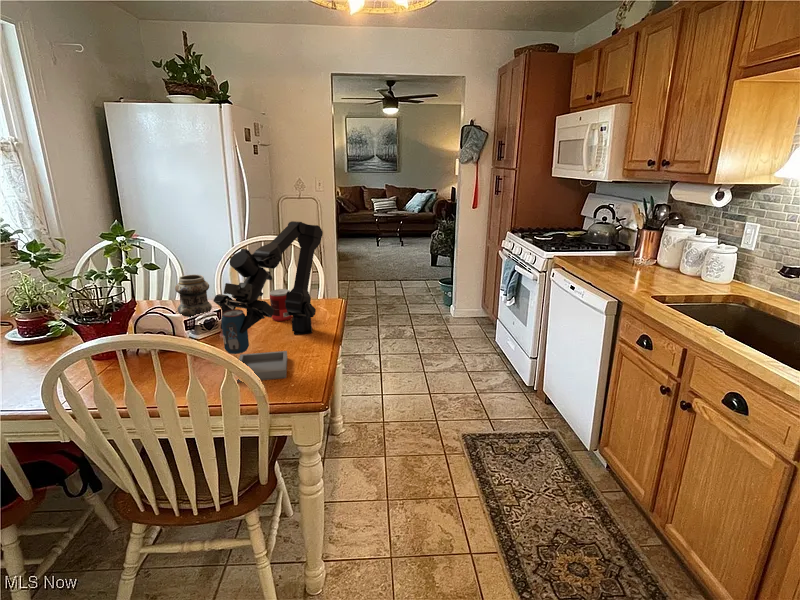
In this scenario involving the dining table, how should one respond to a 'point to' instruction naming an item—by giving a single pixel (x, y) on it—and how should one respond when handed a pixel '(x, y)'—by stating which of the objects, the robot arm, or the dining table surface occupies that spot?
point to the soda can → (234, 332)
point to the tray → (267, 364)
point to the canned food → (279, 305)
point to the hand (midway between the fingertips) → (231, 331)
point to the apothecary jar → (192, 295)
